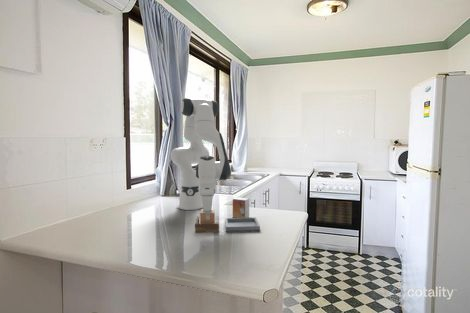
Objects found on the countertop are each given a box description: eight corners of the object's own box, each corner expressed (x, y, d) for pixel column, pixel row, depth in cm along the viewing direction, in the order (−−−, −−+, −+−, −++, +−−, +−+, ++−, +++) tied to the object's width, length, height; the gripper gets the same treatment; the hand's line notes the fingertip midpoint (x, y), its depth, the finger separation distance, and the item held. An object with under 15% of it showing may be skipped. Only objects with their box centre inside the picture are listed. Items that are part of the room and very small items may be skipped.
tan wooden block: (200, 225, 147) (200, 210, 146) (214, 225, 147) (214, 210, 147) (200, 229, 142) (199, 212, 141) (214, 228, 142) (214, 212, 142)
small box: (232, 217, 162) (232, 198, 161) (237, 215, 167) (236, 197, 166) (245, 219, 158) (245, 200, 157) (249, 216, 163) (249, 198, 162)
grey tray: (225, 222, 152) (225, 218, 151) (255, 222, 152) (255, 217, 152) (226, 232, 137) (225, 226, 136) (259, 231, 137) (259, 226, 137)
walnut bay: (197, 224, 150) (197, 216, 150) (218, 223, 150) (218, 216, 150) (195, 232, 136) (195, 224, 136) (218, 232, 137) (218, 223, 137)
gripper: (202, 185, 153) (202, 211, 154) (200, 192, 133) (200, 222, 134) (214, 185, 154) (214, 211, 155) (213, 192, 133) (214, 221, 134)
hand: (208, 216), depth 144 cm, fingers open, 8 cm apart
